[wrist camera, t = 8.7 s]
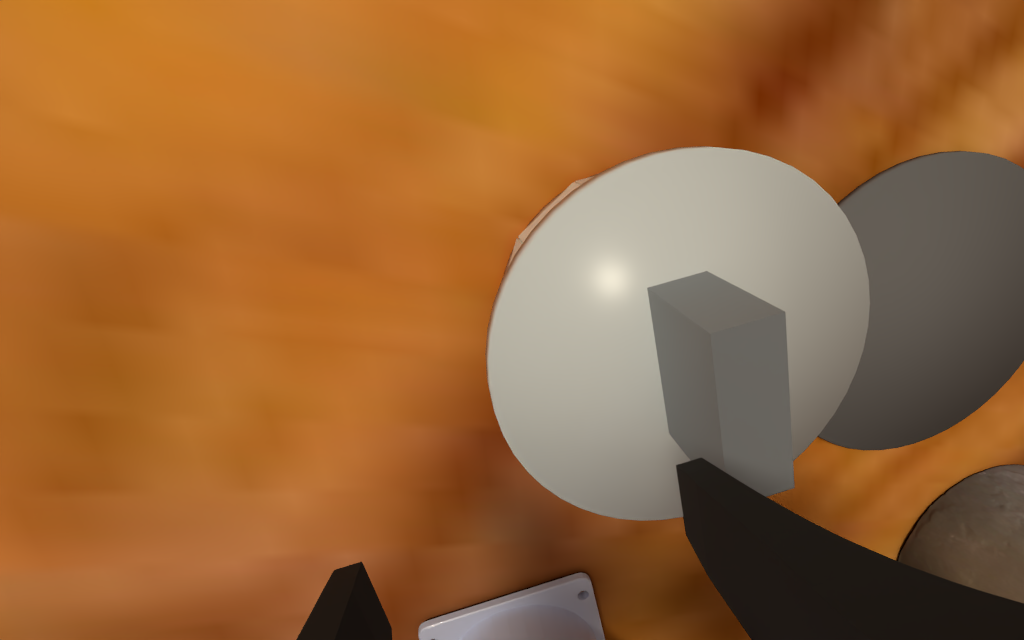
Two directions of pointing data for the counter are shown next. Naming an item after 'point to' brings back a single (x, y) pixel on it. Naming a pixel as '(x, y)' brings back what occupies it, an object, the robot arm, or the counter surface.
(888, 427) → the mat
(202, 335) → the counter surface
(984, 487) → the pillar candle
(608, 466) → the lid
